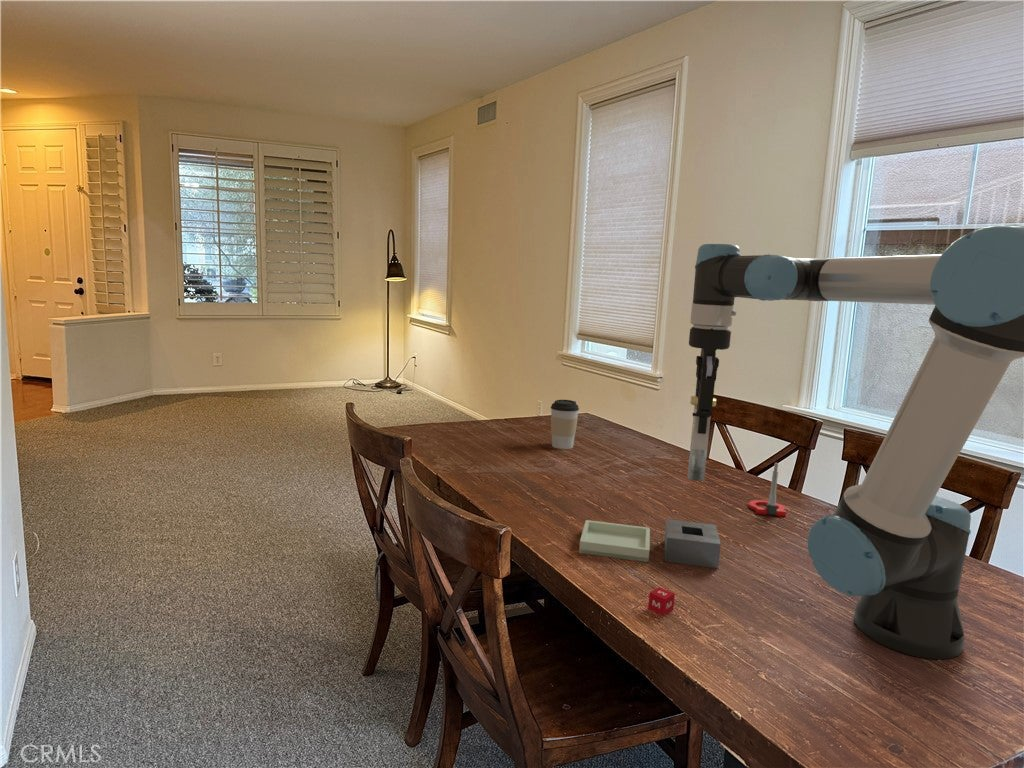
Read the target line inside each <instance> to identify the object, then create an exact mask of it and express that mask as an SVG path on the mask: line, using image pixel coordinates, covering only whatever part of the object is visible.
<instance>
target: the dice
mask: <svg viewBox="0 0 1024 768" xmlns="http://www.w3.org/2000/svg"><path fill="white" fill-rule="evenodd" d="M675 597H676V596H675V593H674V592H673V591H671V590H670V591H669V590H667V589H665V588H663V587H660V586H659V587H657V588H655V589H654V590H651V591H650V592H649V597H648V606H647V607H648V608H647V609H648V610H651V611H653V612H655V613H656V614H659V615H661V616H665V615H667V614H668V613H670V612H672V611H673V610H674V605H675Z"/></svg>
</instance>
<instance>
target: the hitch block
mask: <svg viewBox="0 0 1024 768" xmlns="http://www.w3.org/2000/svg"><path fill="white" fill-rule="evenodd" d="M664 531H665V532H664V542H663V543H664V545H663V546H664V562H666V563H674V564H681V565H689V566H697V567H703V568H711V569H719V562H720V553H721V552H720V551H721V544H722V543H721V540H720V536H719V532H718V528H717V525H716V524H712V523H704V522H703V523H702V522H694V521H685V520H678V519H668V518H666V520H665V530H664Z"/></svg>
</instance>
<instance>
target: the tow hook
mask: <svg viewBox="0 0 1024 768" xmlns="http://www.w3.org/2000/svg"><path fill="white" fill-rule="evenodd" d="M778 468H779V462H774V467H773V471H772V474H771V475H772V476H771V484H770V493H769V495H768V500H761V499H754V500H750V501H748V507H749V508H750V509H751V510H754V511H755V514H757V515H764V516H765V515H766V516H770V515H772V517H784V516H785V517H786V516H787V511H786V507H785V506H784V505H782V504H780V503H777V485H778V477H779V471H778ZM759 504H764V505H763V506H765V508H764V507H762V506H760V505H759ZM777 508H778V509H777Z"/></svg>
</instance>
